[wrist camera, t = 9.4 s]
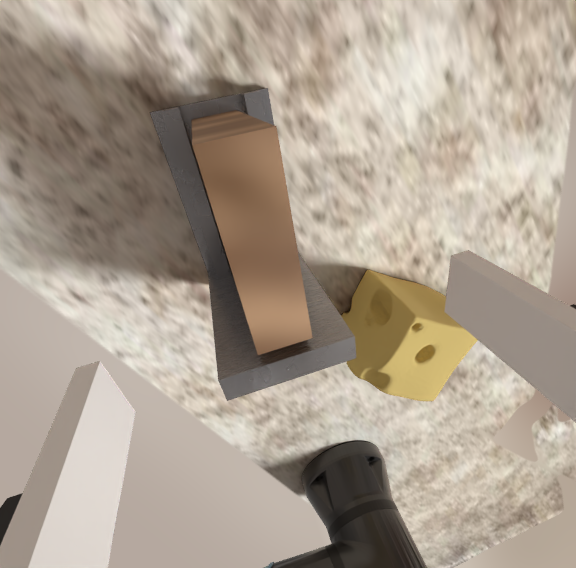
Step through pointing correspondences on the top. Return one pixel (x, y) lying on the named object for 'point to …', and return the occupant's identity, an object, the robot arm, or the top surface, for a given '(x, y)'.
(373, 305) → the cheese
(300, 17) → the top surface
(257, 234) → the door panel
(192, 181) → the bottom track
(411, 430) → the top surface
